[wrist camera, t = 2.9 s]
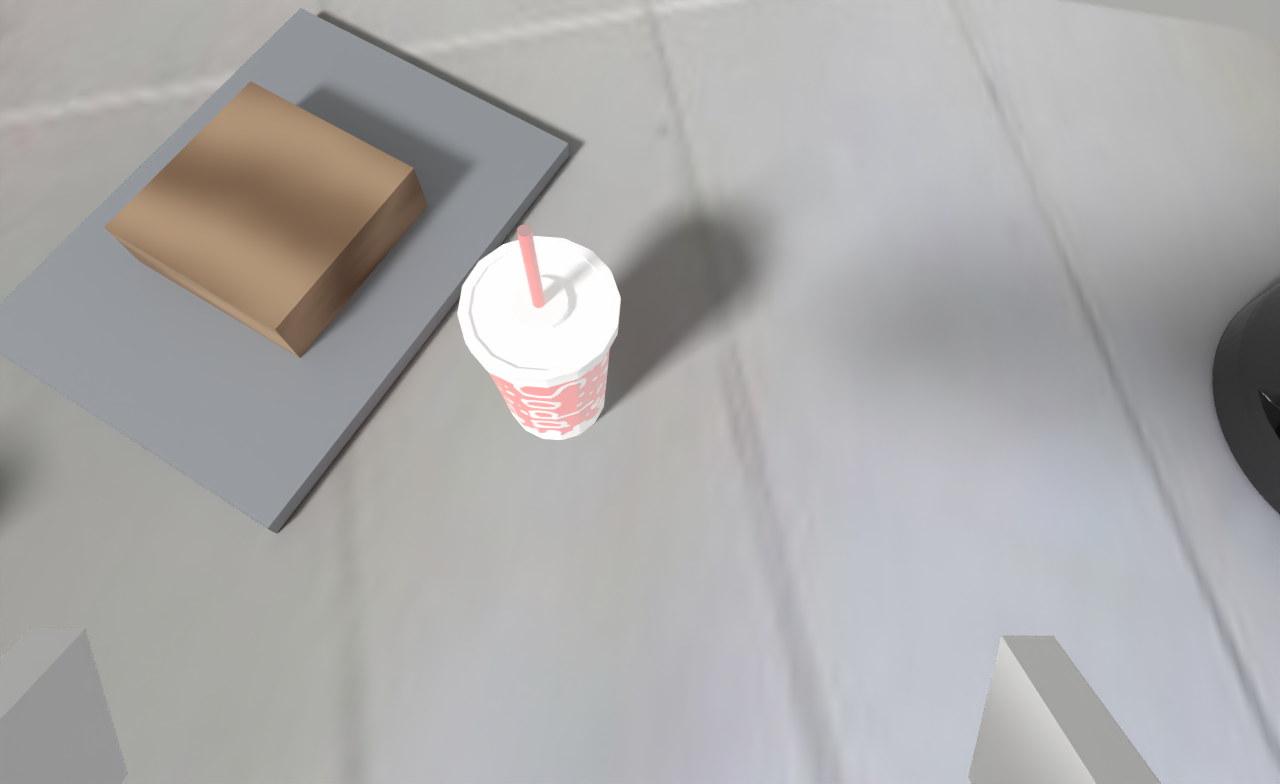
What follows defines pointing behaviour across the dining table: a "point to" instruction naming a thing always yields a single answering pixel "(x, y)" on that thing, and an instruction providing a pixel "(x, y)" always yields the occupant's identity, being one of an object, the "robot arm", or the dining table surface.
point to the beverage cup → (543, 330)
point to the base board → (242, 358)
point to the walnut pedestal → (272, 216)
